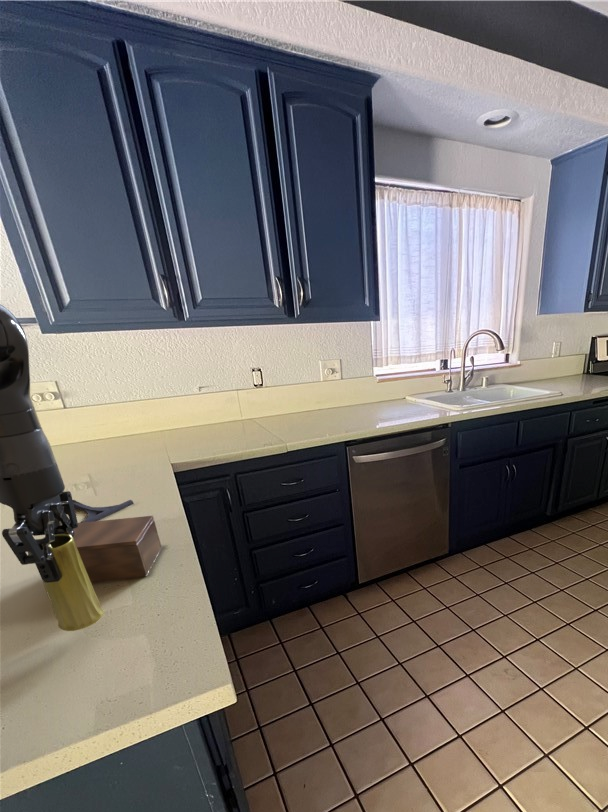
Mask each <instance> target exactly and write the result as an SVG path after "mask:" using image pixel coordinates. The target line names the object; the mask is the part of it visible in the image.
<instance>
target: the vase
mask: <svg viewBox="0 0 608 812" xmlns="http://www.w3.org/2000/svg"><path fill="white" fill-rule="evenodd" d="M54 536H55V541H54V542H53V543H52V550H53V557H55V560H56V562H57V565H58V567H59V570H60V572H61V575H62V578H61V579H60V580H59V581H58V582H49V583H46V582H44V581H43V580H42V583H43V586H44V588H45V591H46V593H47V596H48V598H49V602H50V604H51V607H52V610H53V613H54V616H55V618H56V620H57V626H58V628H59V629H60V630H62V631H65V632H74V631H75V632H76V631H80V630H83V629H85V628H88V627H90V626H92V625H94V624H95V623H97V622H98V621H99V620H100V619H101V618H102V616H103V614H104V609H103V608H102V606H101V603H100V601H99V598H98V596H97V594H96V592H95V589H94V587H93V583H91V582H90V579H89V577H88V574H87V572H86V569H85V567H84V564H83V562H82V559H81V557H80V554H79V552H78V550H77V547H76V545H75V542H74V539H73V537H72V536H71V535H69V534H56V535H54ZM38 546H39V547H40V549H41V550H42V552H44V549H43V545H42V544H38Z"/></svg>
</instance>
